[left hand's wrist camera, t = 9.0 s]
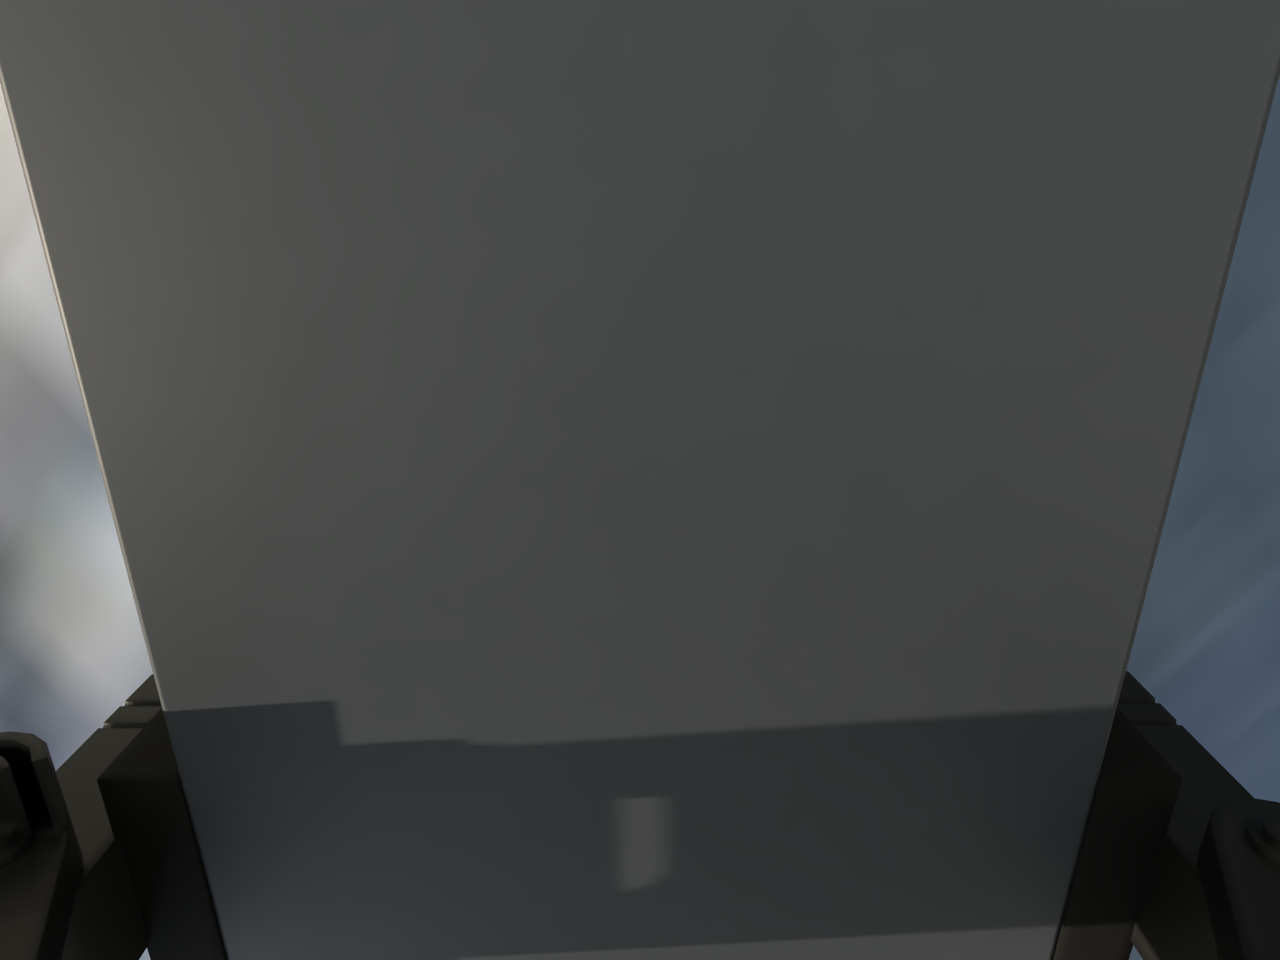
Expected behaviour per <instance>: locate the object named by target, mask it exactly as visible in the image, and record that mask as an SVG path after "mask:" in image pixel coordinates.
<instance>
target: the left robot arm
mask: <svg viewBox="0 0 1280 960" xmlns="http://www.w3.org/2000/svg"><path fill="white" fill-rule="evenodd" d="M1133 944H1134V946H1135V948H1136V949H1137V951H1138V952H1139V954H1140V955H1141V957H1142V958H1143V960H1280V803H1278V802H1273V801H1267V800H1260V799H1254V798H1253V797H1252V796H1251V795H1250V794H1249V793H1248V792H1247V791H1246V790H1245V789H1244V788H1243V787H1242V786H1241V785H1240V783H1239V782H1238V781H1237V780H1236V779H1235V778H1234V777H1233V776H1232V775H1231V774H1230V773H1229V772H1228V771H1227V770H1226V769H1225V768H1224V767H1223V766H1222V765H1221V764H1220V763H1219V762H1218V761H1217V760H1216V759H1215V758H1214V757H1213V756H1212V755H1211V754H1210V753H1209V752H1208V751H1207V750H1206V749H1205V748H1204V747H1203V746H1202V745H1201V744H1200V743H1199V742H1198V741H1197V740H1196V739H1195V738H1194V737H1193V736H1192V735H1191V734H1190V733H1189V732H1188V731H1187V730H1186V729H1185V728H1184V727H1183V726H1182V725H1177V724H1176V719H1175V718H1174V717H1173V716H1172V715H1171V714H1170V713H1169V712H1168V711H1167V710H1166V709H1165V708H1164V707H1163V706H1162V705H1161V704H1156V703H1155V698H1154V697H1153V696H1152V695H1151V694H1150V693H1149V692H1148V691H1147V690H1146V689H1145V688H1144V687H1143V686H1142V685H1141V684H1140V683H1139V682H1138V681H1137V680H1136V679H1135V678H1134V677H1133V676H1132V675H1131V674H1130V673H1129V672H1127V671H1126V673H1125V677H1124V680H1123V684H1122V688H1121V692H1120V696H1119V700H1118V704H1117V708H1116V711H1115V715H1114V719H1113V723H1112V727H1111V731H1110V735H1109V739H1108V743H1107V746H1106V750H1105V754H1104V758H1103V762H1102V766H1101V770H1100V774H1099V778H1098V781H1097V785H1096V789H1095V793H1094V797H1093V801H1092V805H1091V809H1090V813H1089V816H1088V820H1087V824H1086V828H1085V832H1084V836H1083V840H1082V844H1081V848H1080V851H1079V855H1078V859H1077V863H1076V867H1075V871H1074V875H1073V879H1072V883H1071V886H1070V890H1069V894H1068V898H1067V902H1066V906H1065V910H1064V914H1063V918H1062V921H1061V925H1060V929H1059V933H1058V937H1057V941H1056V945H1055V949H1054V953H1053V956H1052V960H1129V956H1130V953H1131V950H1132V946H1133ZM146 948H147V949H148V952H149V955H150V959H151V960H227V956H226V952H225V948H224V944H223V941H222V937H221V933H220V929H219V925H218V921H217V917H216V914H215V910H214V906H213V902H212V898H211V894H210V890H209V886H208V883H207V879H206V875H205V871H204V867H203V863H202V859H201V856H200V852H199V848H198V844H197V840H196V836H195V832H194V829H193V825H192V821H191V817H190V813H189V809H188V805H187V802H186V798H185V794H184V790H183V786H182V782H181V778H180V775H179V771H178V767H177V763H176V759H175V755H174V751H173V748H172V744H171V740H170V736H169V732H168V728H167V724H166V720H165V717H164V713H163V709H162V705H161V701H160V697H159V693H158V690H157V686H156V682H155V678H154V674H152V675H151V676H150V677H149V678H148V679H147V680H146V681H145V682H144V683H143V684H142V685H141V686H140V687H139V688H138V689H137V690H136V691H135V692H134V693H133V694H132V695H131V696H130V697H129V698H128V699H127V700H126V701H125V706H120V707H119V708H118V709H117V710H116V711H115V712H114V713H113V714H112V715H111V716H110V717H109V718H108V719H107V720H106V721H105V722H104V727H103V728H98V729H97V730H96V731H95V732H94V733H93V734H92V735H91V736H90V737H89V738H88V739H87V740H86V741H85V742H84V744H83V745H82V746H81V747H80V748H79V749H78V750H77V751H76V752H75V753H74V754H73V755H72V756H71V757H70V758H69V759H68V760H67V761H66V762H65V763H64V764H63V765H62V766H61V767H60V768H59V769H58V770H57V771H55V768H54V765H53V762H52V759H51V756H50V753H49V750H48V747H47V744H46V742H44V741H43V740H41V739H40V738H38V737H37V736H35V735H34V734H28V733H19V732H3V733H0V960H139V959H140V957H141V955H142V954H143V952H144V951H145V949H146Z"/></svg>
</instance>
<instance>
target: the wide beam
mask: <svg viewBox="0 0 1280 960" xmlns="http://www.w3.org/2000/svg"><path fill="white" fill-rule="evenodd" d="M1279 74H1280V0H0V83H1V87H2V91H3V95H4V99H5V103H6V107H7V111H8V114H9V118H10V122H11V126H12V130H13V134H14V138H15V141H16V145H17V149H18V153H19V157H20V161H21V165H22V168H23V172H24V176H25V180H26V184H27V188H28V192H29V195H30V199H31V203H32V207H33V211H34V215H35V219H36V222H37V226H38V230H39V234H40V238H41V242H42V246H43V249H44V253H45V257H46V261H47V265H48V269H49V273H50V277H51V280H52V284H53V288H54V292H55V296H56V300H57V304H58V307H59V311H60V315H61V319H62V323H63V327H64V331H65V334H66V338H67V342H68V346H69V350H70V354H71V358H72V361H73V365H74V369H75V373H76V377H77V381H78V385H79V388H80V392H81V396H82V400H83V404H84V408H85V412H86V416H87V419H88V423H89V427H90V431H91V435H92V439H93V443H94V446H95V450H96V454H97V458H98V462H99V466H100V470H101V473H102V477H103V481H104V485H105V489H106V493H107V497H108V500H109V504H110V508H111V512H112V516H113V520H114V524H115V527H116V531H117V535H118V539H119V543H120V547H121V551H122V554H123V558H124V562H125V566H126V570H127V574H128V578H129V582H130V585H131V589H132V593H133V597H134V601H135V605H136V609H137V612H138V616H139V620H140V624H141V628H142V632H143V636H144V639H145V643H146V647H147V651H148V655H149V659H150V663H151V666H152V670H153V674H154V678H155V682H156V686H157V690H158V693H159V697H160V701H161V705H162V709H163V713H164V717H165V720H166V724H167V728H168V732H169V736H170V740H171V744H172V748H173V751H174V755H175V759H176V763H177V767H178V771H179V775H180V778H181V782H182V786H183V790H184V794H185V798H186V802H187V805H188V809H189V813H190V817H191V821H192V825H193V829H194V832H195V836H196V840H197V844H198V848H199V852H200V856H201V859H202V863H203V867H204V871H205V875H206V879H207V883H208V886H209V890H210V894H211V898H212V902H213V906H214V910H215V914H216V917H217V921H218V925H219V929H220V933H221V937H222V941H223V944H224V948H225V952H226V956H227V960H1052V956H1053V953H1054V949H1055V945H1056V941H1057V937H1058V933H1059V929H1060V925H1061V921H1062V918H1063V914H1064V910H1065V906H1066V902H1067V898H1068V894H1069V890H1070V886H1071V883H1072V879H1073V875H1074V871H1075V867H1076V863H1077V859H1078V855H1079V851H1080V848H1081V844H1082V840H1083V836H1084V832H1085V828H1086V824H1087V820H1088V816H1089V813H1090V809H1091V805H1092V801H1093V797H1094V793H1095V789H1096V785H1097V781H1098V778H1099V774H1100V770H1101V766H1102V762H1103V758H1104V754H1105V750H1106V746H1107V743H1108V739H1109V735H1110V731H1111V727H1112V723H1113V719H1114V715H1115V711H1116V708H1117V704H1118V700H1119V696H1120V692H1121V688H1122V684H1123V680H1124V677H1125V673H1126V669H1127V665H1128V661H1129V657H1130V653H1131V649H1132V645H1133V642H1134V638H1135V634H1136V630H1137V626H1138V622H1139V618H1140V614H1141V610H1142V607H1143V603H1144V599H1145V595H1146V591H1147V587H1148V583H1149V579H1150V575H1151V572H1152V568H1153V564H1154V560H1155V556H1156V552H1157V548H1158V544H1159V540H1160V537H1161V533H1162V529H1163V525H1164V521H1165V517H1166V513H1167V509H1168V505H1169V502H1170V498H1171V494H1172V490H1173V486H1174V482H1175V478H1176V474H1177V470H1178V467H1179V463H1180V459H1181V455H1182V451H1183V447H1184V443H1185V439H1186V435H1187V432H1188V428H1189V424H1190V420H1191V416H1192V412H1193V408H1194V404H1195V400H1196V397H1197V393H1198V389H1199V385H1200V381H1201V377H1202V373H1203V369H1204V366H1205V362H1206V358H1207V354H1208V350H1209V346H1210V342H1211V338H1212V334H1213V331H1214V327H1215V323H1216V319H1217V315H1218V311H1219V307H1220V303H1221V299H1222V296H1223V292H1224V288H1225V284H1226V280H1227V276H1228V272H1229V268H1230V264H1231V261H1232V257H1233V253H1234V249H1235V245H1236V241H1237V237H1238V233H1239V229H1240V226H1241V222H1242V218H1243V214H1244V210H1245V206H1246V202H1247V198H1248V194H1249V191H1250V187H1251V183H1252V179H1253V175H1254V171H1255V167H1256V163H1257V159H1258V156H1259V152H1260V148H1261V144H1262V140H1263V136H1264V132H1265V128H1266V124H1267V121H1268V117H1269V113H1270V109H1271V105H1272V101H1273V97H1274V93H1275V89H1276V86H1277V82H1278V78H1279Z"/></svg>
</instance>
